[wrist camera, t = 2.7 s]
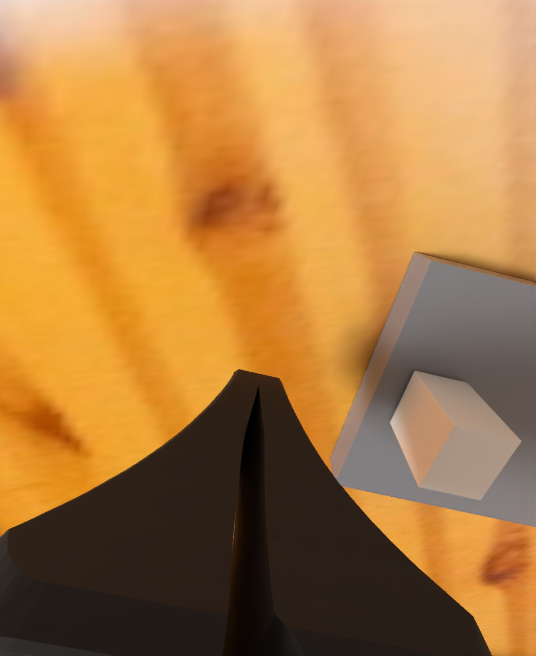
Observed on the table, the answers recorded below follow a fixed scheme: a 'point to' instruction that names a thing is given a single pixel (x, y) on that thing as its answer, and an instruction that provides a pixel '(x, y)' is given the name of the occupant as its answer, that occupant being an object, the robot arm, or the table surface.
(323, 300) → the table surface
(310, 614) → the robot arm
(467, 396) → the block
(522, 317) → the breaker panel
